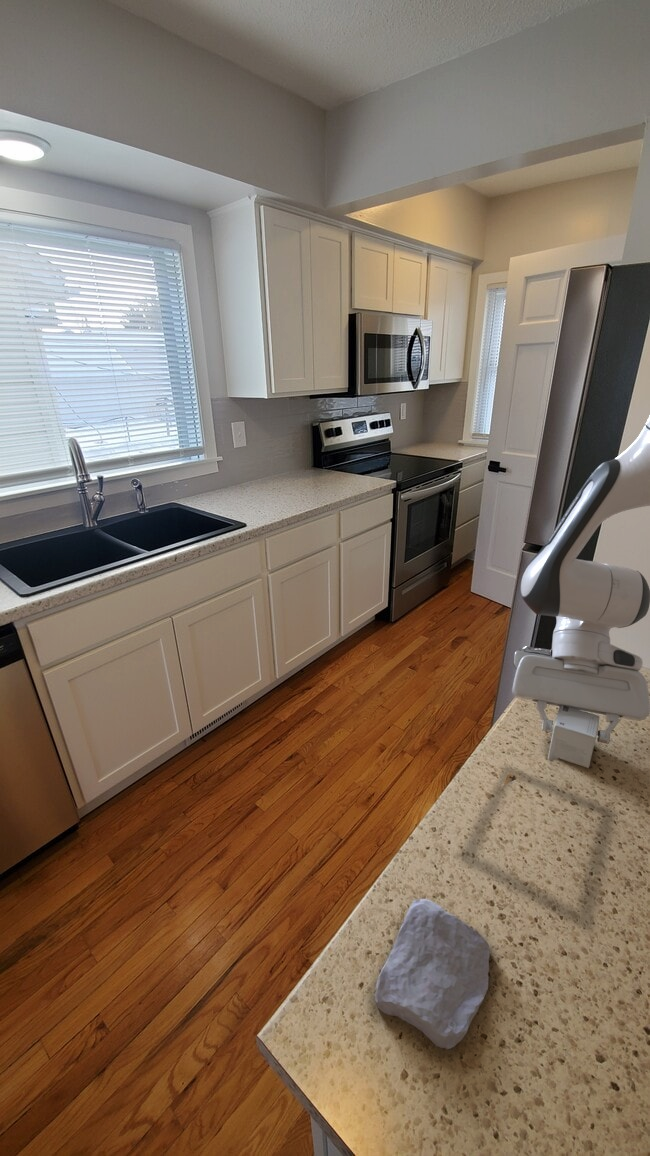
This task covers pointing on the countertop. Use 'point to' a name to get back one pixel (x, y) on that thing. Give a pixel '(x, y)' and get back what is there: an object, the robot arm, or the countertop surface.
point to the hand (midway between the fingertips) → (574, 736)
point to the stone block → (435, 974)
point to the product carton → (573, 736)
